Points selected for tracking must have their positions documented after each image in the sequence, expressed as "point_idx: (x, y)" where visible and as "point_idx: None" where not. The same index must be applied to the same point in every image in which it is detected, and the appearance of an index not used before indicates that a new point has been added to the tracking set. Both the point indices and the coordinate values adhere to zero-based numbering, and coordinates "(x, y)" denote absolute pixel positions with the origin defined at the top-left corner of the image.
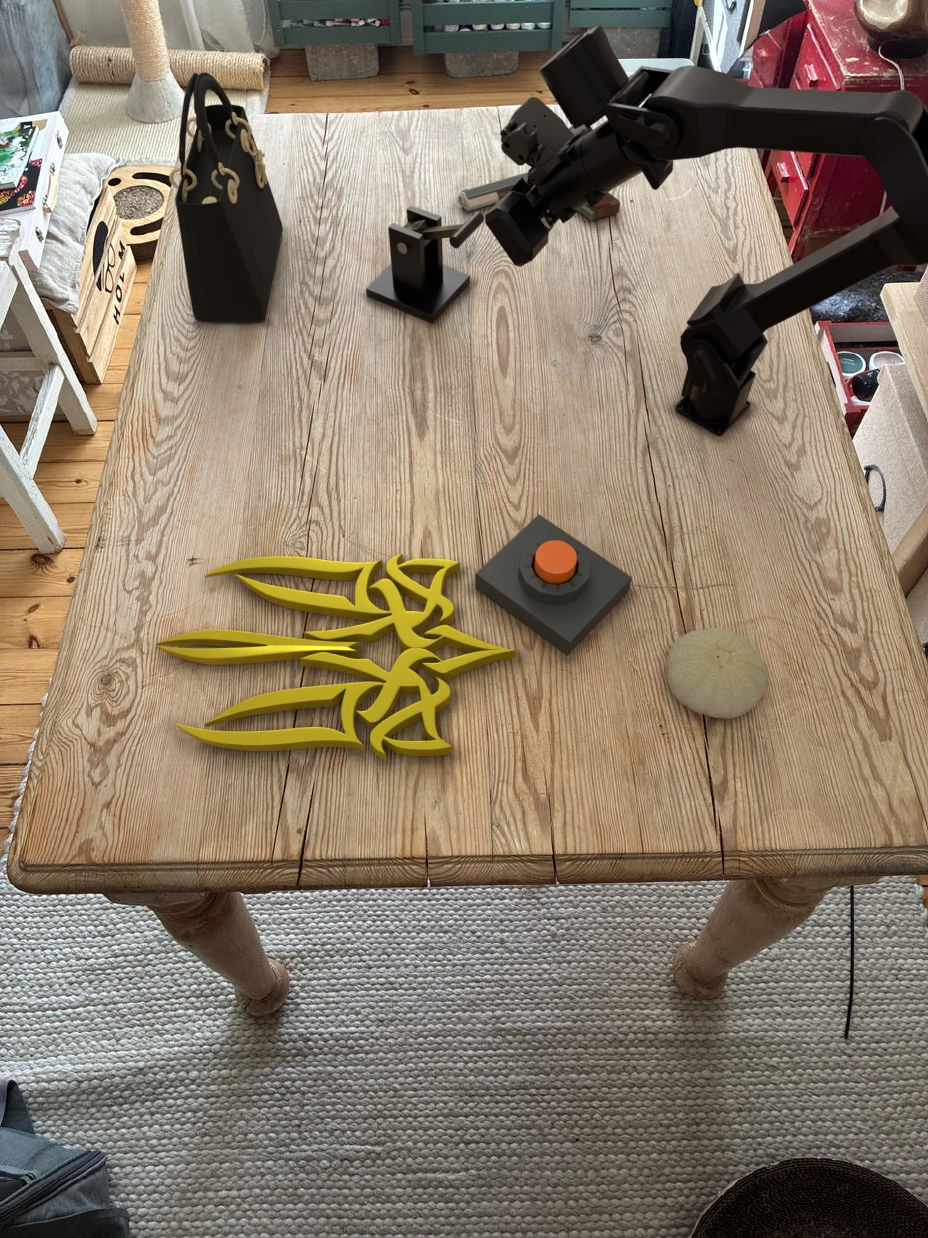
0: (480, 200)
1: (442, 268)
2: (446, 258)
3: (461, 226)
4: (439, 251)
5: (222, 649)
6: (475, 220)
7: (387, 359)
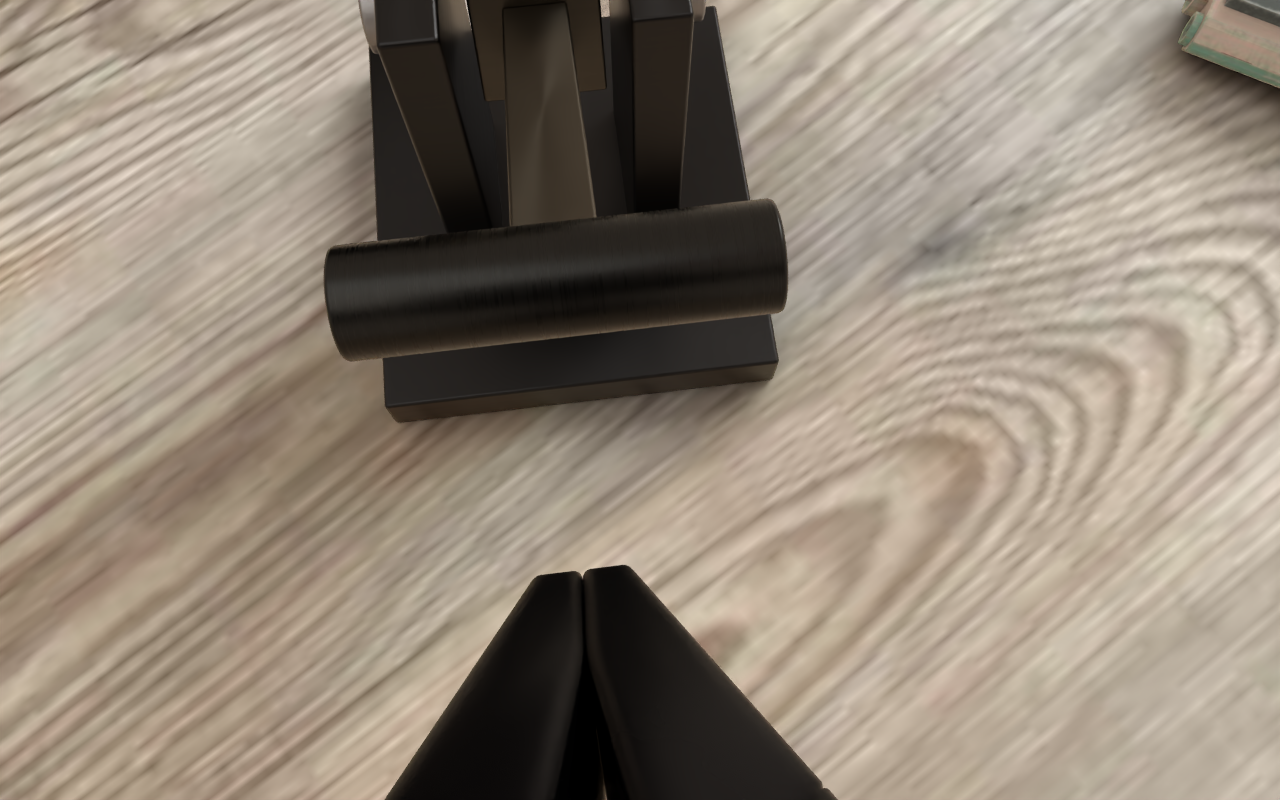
0: (1271, 52)
1: None
2: (840, 178)
3: (507, 234)
4: (645, 171)
5: None
6: (663, 278)
7: (51, 409)
